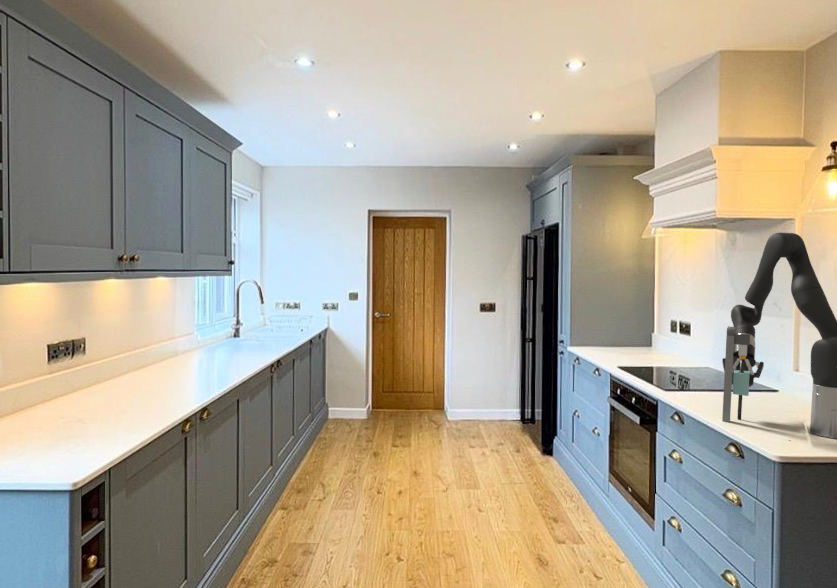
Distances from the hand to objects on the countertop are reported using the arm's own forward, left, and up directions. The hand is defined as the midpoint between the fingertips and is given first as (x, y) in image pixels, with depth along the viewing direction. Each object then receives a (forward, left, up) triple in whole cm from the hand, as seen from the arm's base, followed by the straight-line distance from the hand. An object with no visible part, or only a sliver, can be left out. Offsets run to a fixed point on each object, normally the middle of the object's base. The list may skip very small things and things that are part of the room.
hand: (741, 384), depth 208 cm
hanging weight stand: (-1, +3, -14) cm, 15 cm away
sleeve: (+1, -1, -4) cm, 4 cm away
